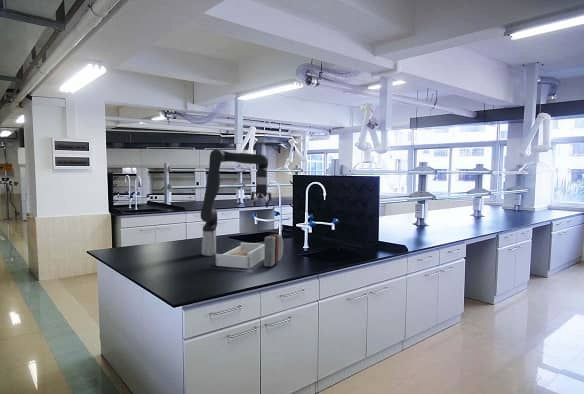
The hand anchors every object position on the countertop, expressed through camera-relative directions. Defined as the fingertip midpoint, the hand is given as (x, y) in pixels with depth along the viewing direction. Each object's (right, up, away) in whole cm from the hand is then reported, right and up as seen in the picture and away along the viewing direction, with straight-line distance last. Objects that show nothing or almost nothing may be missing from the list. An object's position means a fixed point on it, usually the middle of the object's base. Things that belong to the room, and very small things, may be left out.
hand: (260, 207), depth 256 cm
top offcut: (-13, -33, -8) cm, 36 cm away
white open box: (-10, -36, -9) cm, 38 cm away
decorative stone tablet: (+10, -37, -15) cm, 41 cm away
